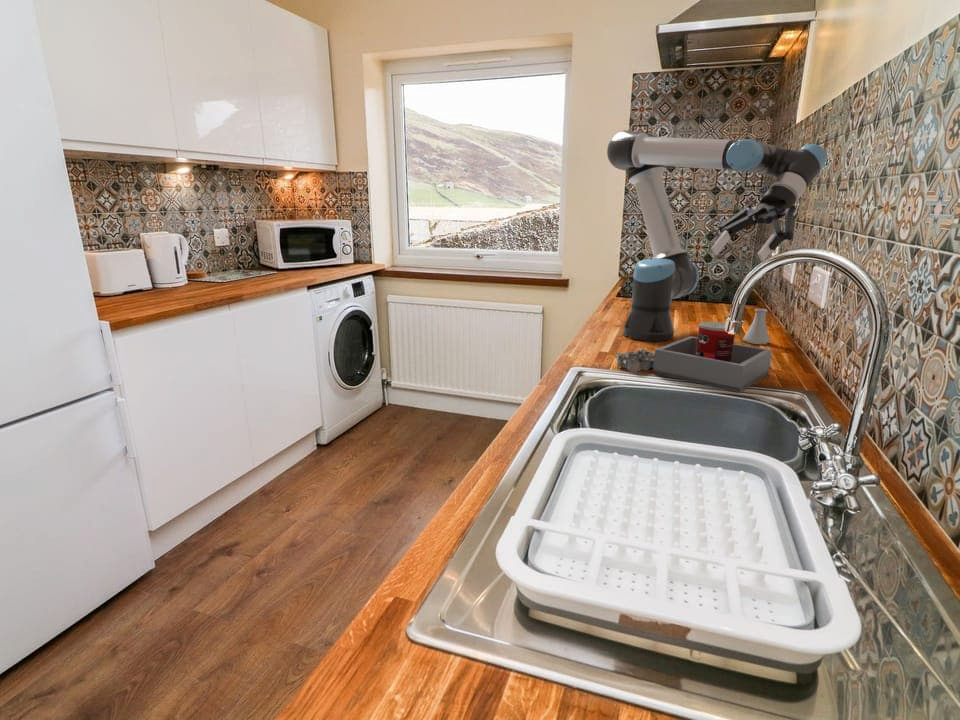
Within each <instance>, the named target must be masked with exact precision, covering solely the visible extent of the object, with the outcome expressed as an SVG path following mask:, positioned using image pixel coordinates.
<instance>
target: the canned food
mask: <svg viewBox="0 0 960 720" xmlns="http://www.w3.org/2000/svg"><path fill="white" fill-rule="evenodd" d="M725 323H726V322H721V321H720V322H719V321H702V322H699V326H698V331H697V337H698V338H697V347H696V355H695V356H700V357H705V358H711V359H716V360H721V361H726V362H731V357H732V350H733V344H735V343H734V342H735V335H736V334H735V335H730V334H728V333H727V332H725V331H724V325H725Z"/></svg>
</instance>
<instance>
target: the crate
mask: <svg viewBox="0 0 960 720" xmlns="http://www.w3.org/2000/svg"><path fill="white" fill-rule="evenodd" d="M697 338H698V336H692V335H691V336H688V337H685V338H682V339H679V340H677V341H674V342H670V343H669V344H665V345H663V346H659V347H658V348H655V349H654V354H655V357H654V367H653V368H652V369H653V370H652V374H654V375H658V376H663V377H666V378H672V379H677V380H680V381H684V382H689V383H694V384H697V385H703V386H708V387H712V388H717V389H721V390H724V391H725V390H726V391H730V392H733V393H734V392H735V393H741V392H743V391H744V390H746V389H747V388H749V387H751V386H752V385H754V384H755V383H757V382H758V381H760V380H762V379H763V378H764V377H767V375H769V373H770V367H771V360H772V354H773V349H770V348H763V347H758V346H752V345H745V344H741V343H740V344H739V343H734V344H733V350H732V357H731V362H726V361H721V360H716V359H711V358H705V357H700V356H695V355H696V347H697ZM750 385H751V386H750Z"/></svg>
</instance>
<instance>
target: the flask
mask: <svg viewBox="0 0 960 720" xmlns="http://www.w3.org/2000/svg"><path fill="white" fill-rule="evenodd" d="M754 311H755V312H754V313H755V314H754V318H753V321H752V322H751V325H750V326H749V328H748V330H747V331H746V333H745V335H744V336H743V339H742V341H744V342H745V343H749V344H752V345H753V344H754V345H768V344H767V343H770V342H771V339H770V335H769V331H768V328H767V320H766V319H767V318H766V317H767V313H768V310H767V309H765V308H755V309H754ZM770 344H771V343H770Z"/></svg>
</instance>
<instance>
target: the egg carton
mask: <svg viewBox="0 0 960 720" xmlns="http://www.w3.org/2000/svg"><path fill="white" fill-rule="evenodd" d="M654 357H655V352H651V351H648V350H647V349H645V348H641V349H638V350H634V351H632V350H631V351H629V352H623V353H621V352H618V353H616V354H615V355H614V358H615V359H617V362H616V366H617V368H618V367H624V368H623V369H626V368H627V369H626V371H627V370H629V371H628V372H634V371H636V372H635V373H638V372H637V371H639V372H641V370H643V371H648V370H650V369H653V367H654Z"/></svg>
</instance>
